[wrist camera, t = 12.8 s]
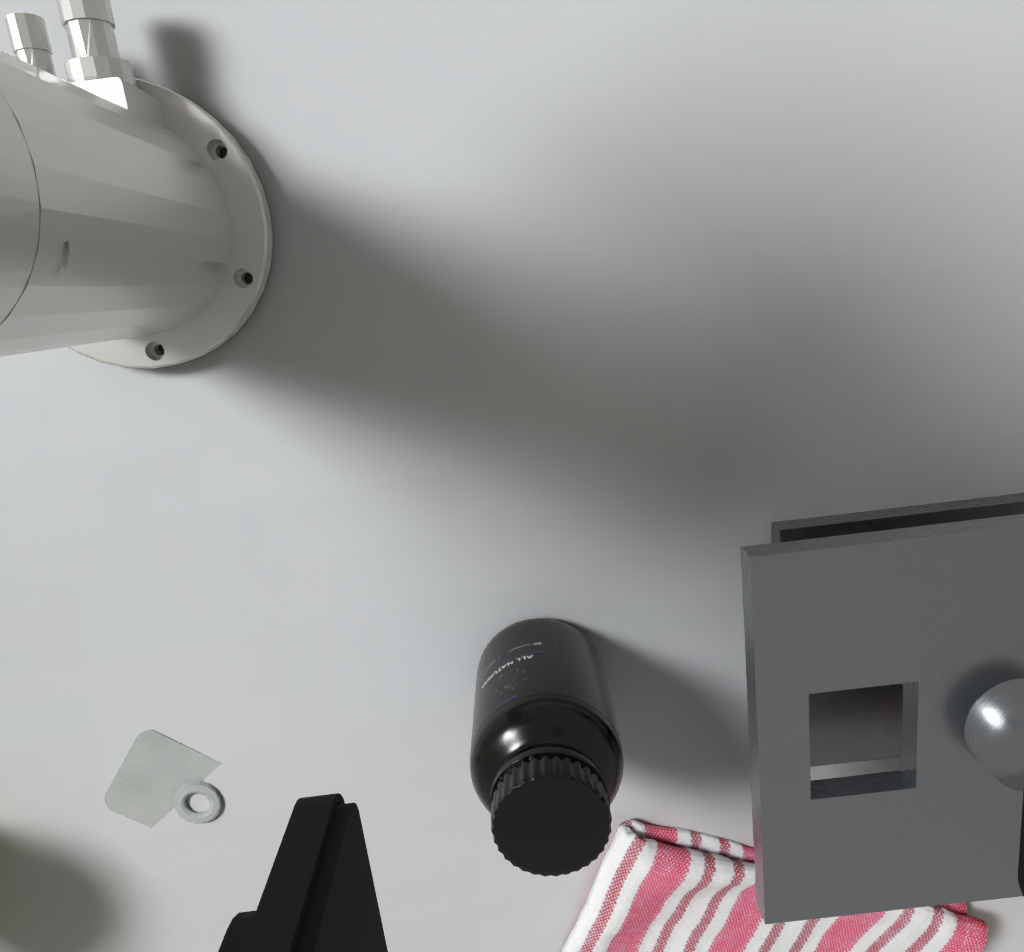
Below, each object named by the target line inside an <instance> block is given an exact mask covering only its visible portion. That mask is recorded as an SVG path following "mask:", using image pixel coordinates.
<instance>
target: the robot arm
mask: <svg viewBox="0 0 1024 952" xmlns="http://www.w3.org/2000/svg"><path fill="white" fill-rule="evenodd" d="M56 1H57V6H58V10H59V14H60V18H61V22H62V25H63V27H64V28H65V29H66V32H67V36H68V40H69V44H70V49H71V53H72V57H73V59H70V60H68V61H67V62H66V63H65V64H64V65H65V69H66V73H67V77H68V81H65V80H63V79H61V78H59V77H57V76H56V74H55V69H54V65H53V61H52V57H51V55H52V50H51V46H50V42H49V38H48V34H47V30H46V26H45V22H44V20H43V18H42V17H40V16H37V15H34V14H28V13H13V14H9V15H6V17H5V22H6V26H7V30H8V34H9V38H10V42H11V46H12V49H13V53H14V54H16V57H14V56H12V55H10V54H8V53H6V52H4V51H2V50H0V356H7V355H14V354H21V353H28V352H35V351H42V350H49V349H56V348H63V347H69V348H71V349H72V350H74V351H76V352H77V353H80V354H82V355H85V356H87V357H90V358H92V359H95V360H97V361H100V362H102V363H107V364H112V365H116V366H121V367H126V368H153V369H154V368H159V367H165V366H171V365H177V364H181V363H184V362H187V361H191V360H194V359H197V358H199V357H201V356H203V355H205V354H207V353H209V352H211V351H213V350H215V349H217V348H218V347H220V346H221V345H222V344H223V343H225V342H226V341H227V340H228V339H230V338H231V337H232V336H233V335H234V334H236V333H237V332H238V331H239V329H240V328H241V327H242V326H243V324H244V323H245V322H246V321H247V319H248V318H249V317H250V316H251V314H252V313H253V311H254V309H255V307H256V305H257V303H258V301H259V299H260V297H261V296H262V294H263V292H264V288H265V285H266V281H267V278H268V274H269V271H270V267H271V257H272V245H273V236H272V226H271V216H270V210H269V207H268V203H267V200H266V196H265V193H264V189H263V186H262V184H261V182H260V180H259V177H258V175H257V173H256V171H255V169H254V167H253V165H252V163H251V161H250V159H249V158H248V156H247V155H246V154H245V152H244V151H243V149H242V148H241V146H240V145H239V144H238V142H237V141H236V139H235V138H234V137H233V136H232V135H231V134H230V133H229V132H228V131H227V130H226V129H225V128H224V127H223V126H222V125H221V124H220V123H219V122H218V121H217V120H216V119H215V118H214V117H213V116H212V115H211V114H209V113H208V112H206V111H205V110H204V109H202V108H201V107H199V106H198V105H197V104H195V103H194V102H192V101H191V100H189V99H188V98H186V97H184V96H182V95H180V94H178V93H176V92H174V91H173V90H171V89H169V88H167V87H164V86H161V85H158V84H155V83H152V82H149V81H147V80H144V79H141V78H135V77H134V72H133V68H132V65H131V64H130V63H129V62H128V61H125V60H122V59H120V55H119V51H118V46H117V42H116V37H115V33H114V29H115V23H114V18H113V14H112V9H111V5H110V1H109V0H56ZM223 147H226V149H227V155H226V156H225V158H221V157H220V155H219V151H220V149H221V148H223ZM247 273H250V274H251V275H252V277H253V281H252V283H251V284H248V283H246V281H245V279H244V278H245V275H246V274H247ZM160 345H162V346H163V348H164V355H162V354H161V353H160V352H159V346H160ZM1018 882H1019V886H1020V889H1021V892H1022V894H1023V896H1024V791H1023V805H1022V819H1021V834H1020V848H1019V862H1018ZM218 952H388V951H387V946H386V941H385V936H384V931H383V927H382V922H381V917H380V912H379V907H378V902H377V897H376V892H375V888H374V883H373V878H372V873H371V868H370V863H369V858H368V854H367V849H366V844H365V839H364V834H363V829H362V824H361V819H360V815H359V810H358V807H357V805H356V803H348V804H345V803H344V799H343V797H342V795H341V794H339V793H338V794H330V795H322V796H314V797H306V798H300V799H299V800H297V802H296V804H295V806H294V809H293V812H292V814H291V817H290V820H289V823H288V825H287V828H286V831H285V834H284V836H283V839H282V842H281V845H280V847H279V850H278V853H277V856H276V858H275V861H274V864H273V867H272V869H271V872H270V875H269V878H268V880H267V883H266V886H265V889H264V891H263V894H262V897H261V900H260V902H259V905H258V908H257V911H250V912H242V913H238V914H237V915H236V916H235V917H234V918H233V919H232V921H231V923H230V925H229V927H228V929H227V931H226V934H225V936H224V939H223V941H222V944H221V946H220V949H219V951H218Z"/></svg>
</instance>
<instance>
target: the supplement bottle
mask: <svg viewBox="0 0 1024 952" xmlns="http://www.w3.org/2000/svg"><path fill="white" fill-rule="evenodd" d="M470 770H471V778H472V782H473V785H474V789H475V791H476V793H477V795H478V797H479V799H480V801H481V802H482V803H483V805H484V806H485V808H486V809H487V810H488V811H489V812H490V813H491V831H492V833H493V838H494V842H495V843H496V844H497V845H498V850H499V851H500V852H501V853H502V854H503V855H504V857H505V859H506V860H509V861H510V862H511V863H512V864H513V866H516V867H519V868H520V869H521V870H523V871H528V872H530V873H532V874H534V875H537V874H540V875H542V876H549V875H552V876H559V875H561V874H569V873H571V872H573V871H579V870H580V869H581V868H582V867H585V866H588V865H589V864H590V862H591V861H593V860H595V859H597V857H598V855H599V854H600V853H601V852H603V851H604V846H605V844H607V842H608V840H609V834H610V833H611V821H612V817H611V812H610V804H611V803H612V801H613V799H614V798H615V796H616V794H617V792H618V790H619V787H620V784H621V781H622V776H623V753H622V747H621V743H620V738H619V734H618V730H617V726H616V722H615V717H614V713H613V709H612V705H611V701H610V697H609V692H608V688H607V684H606V680H605V676H604V672H603V668H602V664H601V661H600V658H599V655H598V653H597V651H596V649H595V648H594V646H593V644H592V643H591V642H590V641H589V639H588V638H587V637H586V636H585V635H584V634H582V633H581V632H580V631H579V630H577V629H576V628H574V627H572V626H570V625H568V624H566V623H564V622H561V621H557V620H553V619H543V618H538V619H528V620H524V621H520V622H517V623H515V624H512V625H510V626H509V627H507V628H505V629H504V630H502V631H501V632H499V633H498V634H497V635H496V636H495V637H494V638H493V639H492V640H491V641H490V643H489V644H488V645H487V647H486V648H485V650H484V652H483V654H482V656H481V659H480V662H479V666H478V672H477V680H476V692H475V704H474V717H473V729H472V741H471V755H470Z"/></svg>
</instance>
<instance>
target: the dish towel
mask: <svg viewBox="0 0 1024 952" xmlns="http://www.w3.org/2000/svg"><path fill="white" fill-rule="evenodd" d="M967 913H968V909H967V904H966V903H965V902H963V903H954V904H945V905H936V906H927V907H918V908H909V909H900V910H891V911H882V912H873V913H864V914H855V915H846V916H837V917H828V918H819V919H810V920H801V921H792V922H783V923H774V924H765V923H764V920H763V918H762V916H761V913H760V911H759V908H758V906H757V904H756V884H755V860H754V848H753V847H749V846H744V845H742V844H740V843H738V842H736V841H732V840H729V839H723V838H719V837H717V836H714V835H710V834H707V833H701V832H695V831H689V830H687V829H682V828H679V827H667V826H655V825H649V824H644V823H642V822H638V821H636V820H627V821H624V822H622V823H621V824H620V826H619V827H618V830H617V833H616V835H615V837H614V839H613V842H612V844H611V846H610V848H609V849H608V851H607V853H606V855H605V857H604V859H603V861H602V863H601V867H600V869H599V872H598V874H597V877H596V879H595V882H594V884H593V887H592V889H591V891H590V894H589V897H588V900H587V902H586V904H585V905H584V907H583V909H582V911H581V913H580V916H579V918H578V920H577V922H576V925H575V927H574V928H573V930H572V932H571V933H570V935H569V938H568V939H567V941H566V943H565V945H564V947H563V949H562V951H561V952H982V951H983V950H984V949H985V947H986V943H987V933H988V926H987V925H986V923H985V922H984V921H983V920H982V919H979V918H975V917H971V916H967Z"/></svg>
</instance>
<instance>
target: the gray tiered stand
mask: <svg viewBox="0 0 1024 952" xmlns="http://www.w3.org/2000/svg"><path fill="white" fill-rule="evenodd" d="M741 561H742V584H743V607H744V630H745V653H746V676H747V699H748V722H749V745H750V768H751V791H752V814H753V837H754V860H755V884H756V904H757V906H758V908H759V911H760V913H761V916H762V918H763V920H764V923H765V924H774V923H783V922H792V921H801V920H810V919H819V918H828V917H837V916H846V915H855V914H864V913H873V912H882V911H891V910H900V909H909V908H918V907H927V906H936V905H945V904H954V903H963V902H972V901H981V900H991V899H1000V898H1009V897H1018V896H1023V894H1022V892H1021V889H1020V886H1019V882H1018V862H1019V848H1020V834H1021V819H1022V805H1023V791H1024V493H1021V494H1012V495H1004V496H995V497H987V498H978V499H970V500H961V501H953V502H944V503H936V504H927V505H919V506H910V507H902V508H893V509H885V510H876V511H868V512H859V513H851V514H842V515H834V516H825V517H817V518H808V519H800V520H791V521H783V522H774V523H772V543H771V544H763V545H754V546H746V547H741ZM899 756H902V771H893V772H885V773H876V774H867V775H858V776H849V777H840V778H832V779H823V780H814V781H810V767H811V766H820V765H829V764H838V763H846V762H855V761H864V760H873V759H882V758H890V757H899Z"/></svg>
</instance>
